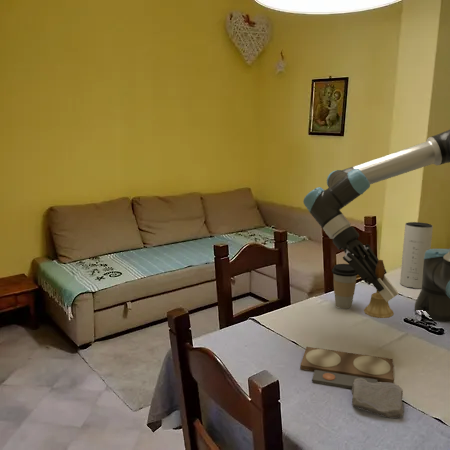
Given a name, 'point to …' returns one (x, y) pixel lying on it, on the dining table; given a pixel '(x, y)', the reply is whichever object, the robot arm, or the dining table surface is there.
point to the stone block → (378, 398)
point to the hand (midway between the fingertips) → (392, 297)
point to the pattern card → (337, 379)
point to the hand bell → (379, 298)
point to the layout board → (348, 364)
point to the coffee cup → (344, 285)
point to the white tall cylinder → (415, 253)
